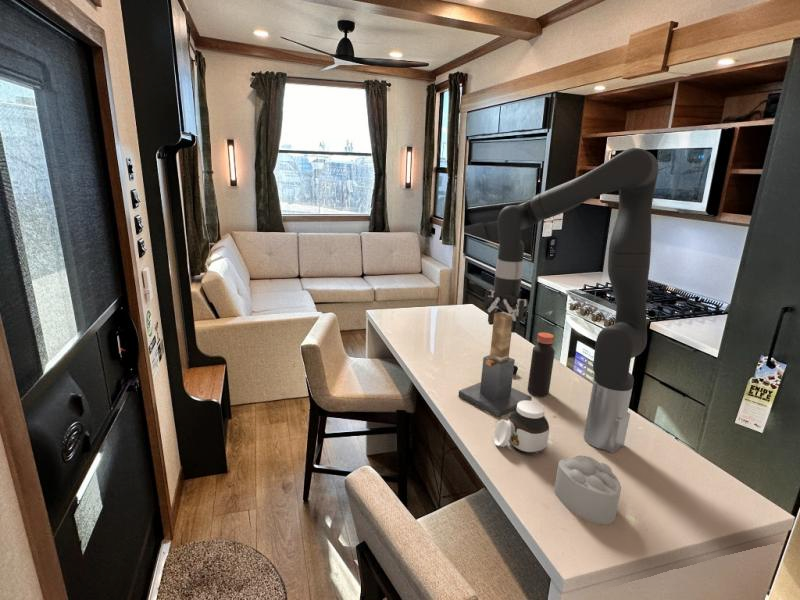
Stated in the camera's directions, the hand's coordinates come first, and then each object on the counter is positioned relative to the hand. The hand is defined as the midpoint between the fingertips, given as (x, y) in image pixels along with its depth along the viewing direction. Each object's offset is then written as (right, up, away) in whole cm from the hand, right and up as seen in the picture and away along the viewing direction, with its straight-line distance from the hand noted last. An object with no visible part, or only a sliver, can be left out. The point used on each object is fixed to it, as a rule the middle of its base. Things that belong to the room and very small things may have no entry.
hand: (502, 328), depth 135 cm
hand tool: (+7, -16, +33) cm, 37 cm away
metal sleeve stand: (-1, -23, +7) cm, 24 cm away
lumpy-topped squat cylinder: (+10, -36, -37) cm, 52 cm away
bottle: (+14, -22, +13) cm, 29 cm away
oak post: (-1, -15, +4) cm, 16 cm away
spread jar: (0, -30, -17) cm, 35 cm away
